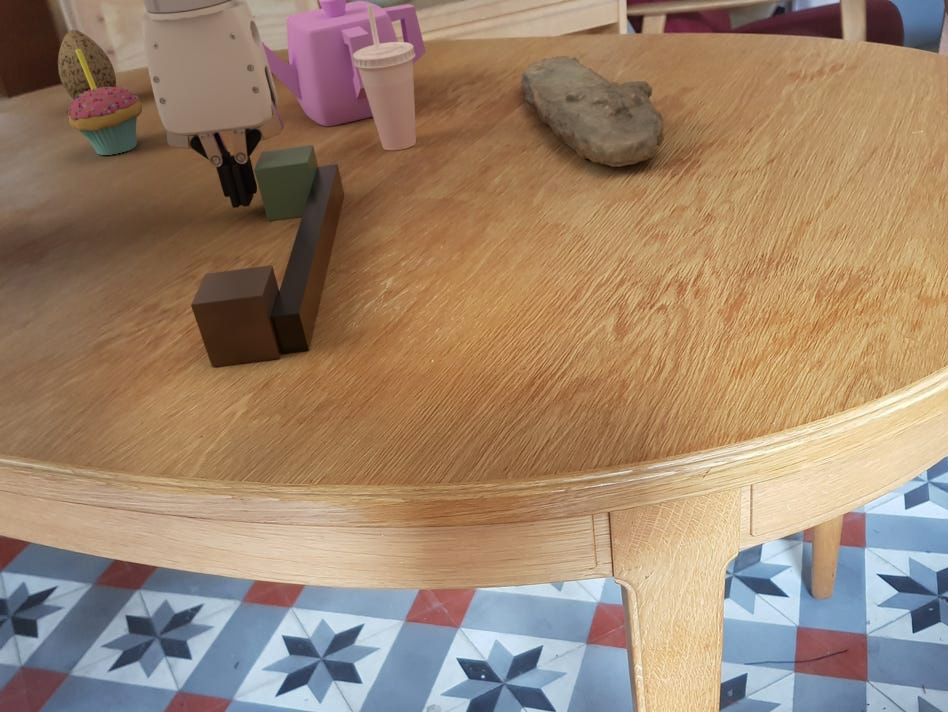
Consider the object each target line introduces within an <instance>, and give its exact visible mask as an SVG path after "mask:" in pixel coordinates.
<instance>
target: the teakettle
mask: <svg viewBox="0 0 948 712" xmlns="http://www.w3.org/2000/svg"><path fill="white" fill-rule="evenodd" d="M318 2H319V5H320V7H321V8H317V9H312V10H308V11H304V12H299V13H294V14H290V15H288V16H287V18H286V39H287V53H288V62H289V63H288V62H286V61H285V60H284V59H282V58H281V57H280V56H279V55H277V54H276V53H275V52H274V51H273V50H271V49H270V48H269V47H268V46H266V44H265V42H264V41H262V44H263V47H264V50H265V53H266V57H267V60H268V64H269V67H270V71H271V74H272V75H273V76H275V77H276V79H278V81H279V82H280V83H282V85H284V86H285V87H286V88H287V90H288V91H290V92H291V93H292V94H293V95H294V96H295V97H296V100H297V101H298V103H299V105H300V107H301V108H302V110H303V112H304V114H305V116H306V117H308V119H310V120H312V121H313V122H315V123H316V124H318V125H320V126H323V127H333V126H338V125H339V126H340V125H343V124H348V123H352V122H355V121H360V120H365V119H369V118H373V114H372V111H371V108H370V105H369V101H368V98H367V95H366V92H365V89H364V85H363V82H362V79H361V76H360V72H359V69H358V67H356V66H355V65H354V58H353V54H354V53H355V52H356V51H358V50H360V49H362V48H365V47H368V46H372V45H374V42H373V36H372V31H371V25H370V19H369V14H368V8H367V5H369V4H372V5H373V10H374V16H375V22H376V27H377V33H378V39H379V44H381V43H389V42H399V40H398V37H397V35H396V31H395V28H394V26H393V22H396V21H399V22H400V28H401V34H402V38H403V39H402V41H403V42H406V43H410V44H412V45H413V47H414V53H415V57H414V58H413V65H415V63H417V61H419V60H420V59H421V58H422V57H423V56H424V55H425V54H426V53H427V52H426V48H425V43H424V39H423V35H422V31H421V27H420V23H419V19H418V15H417V11H416V7H415V6H414V5H412V4H410V3H407V4H400V5H395V6H389V7H381V6H379V5H377V4H375V3H372V2H369V1H365V0H356V1H351V2H347V0H318Z"/></svg>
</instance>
